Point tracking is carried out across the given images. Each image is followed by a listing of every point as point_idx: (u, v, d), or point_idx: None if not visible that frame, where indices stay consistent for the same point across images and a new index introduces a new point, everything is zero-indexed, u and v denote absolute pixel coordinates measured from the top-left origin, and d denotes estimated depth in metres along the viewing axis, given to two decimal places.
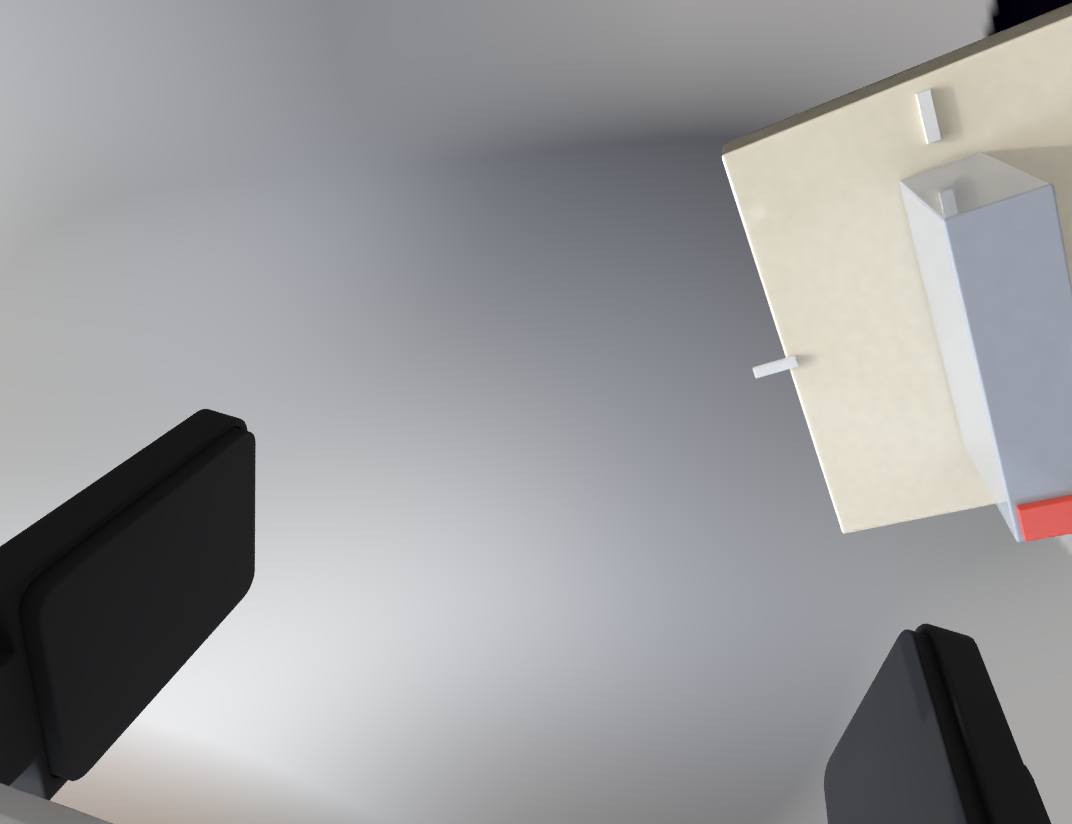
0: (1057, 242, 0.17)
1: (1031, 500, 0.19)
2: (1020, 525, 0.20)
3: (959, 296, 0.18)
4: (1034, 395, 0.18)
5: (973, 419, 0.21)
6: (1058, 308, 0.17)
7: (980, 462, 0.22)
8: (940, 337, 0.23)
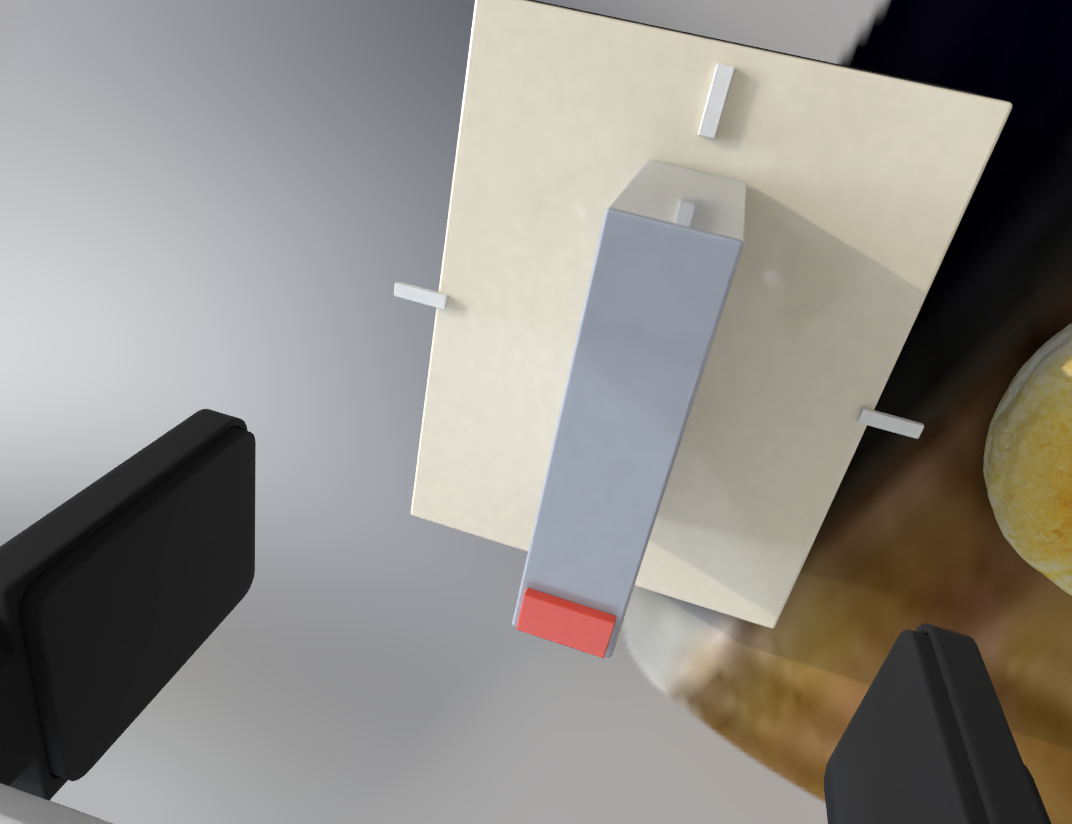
0: (711, 318, 0.12)
1: (543, 590, 0.15)
2: (521, 610, 0.16)
3: (581, 318, 0.13)
4: (601, 482, 0.14)
5: None
6: (673, 397, 0.13)
7: None
8: None
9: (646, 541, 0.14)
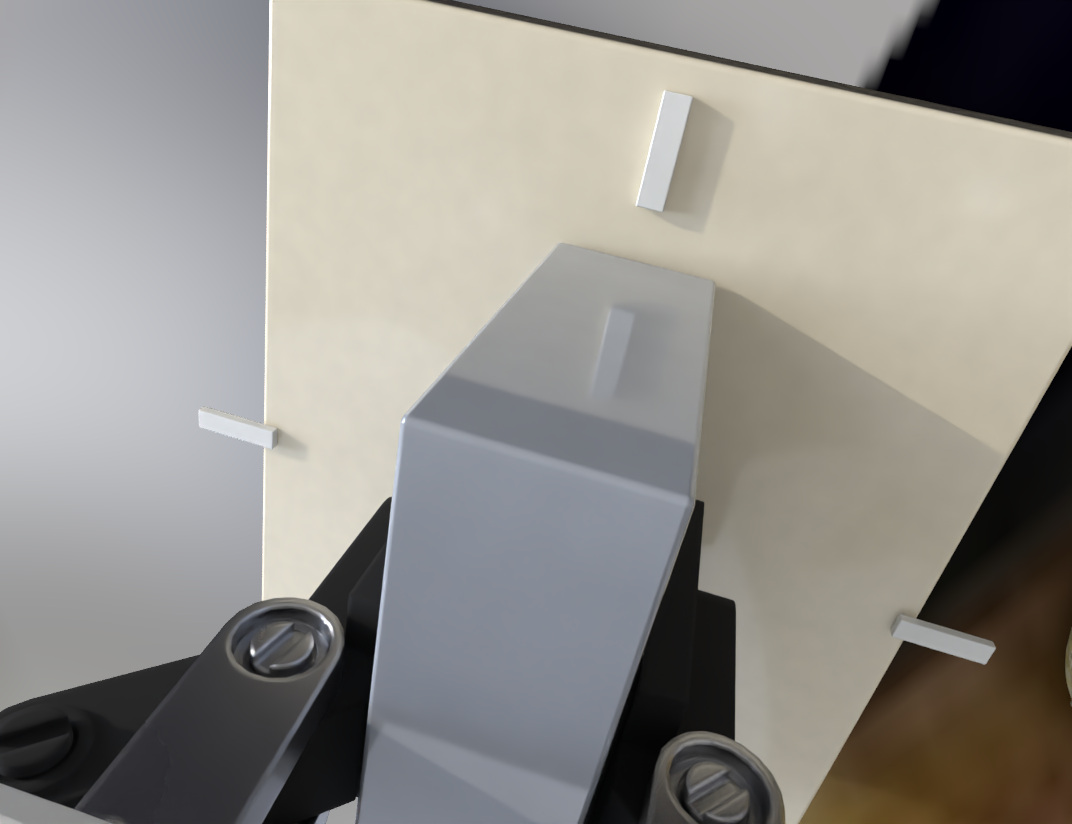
0: (631, 634, 0.06)
1: None
2: None
3: (381, 603, 0.06)
4: None
5: None
6: (565, 752, 0.07)
7: None
8: None
9: None
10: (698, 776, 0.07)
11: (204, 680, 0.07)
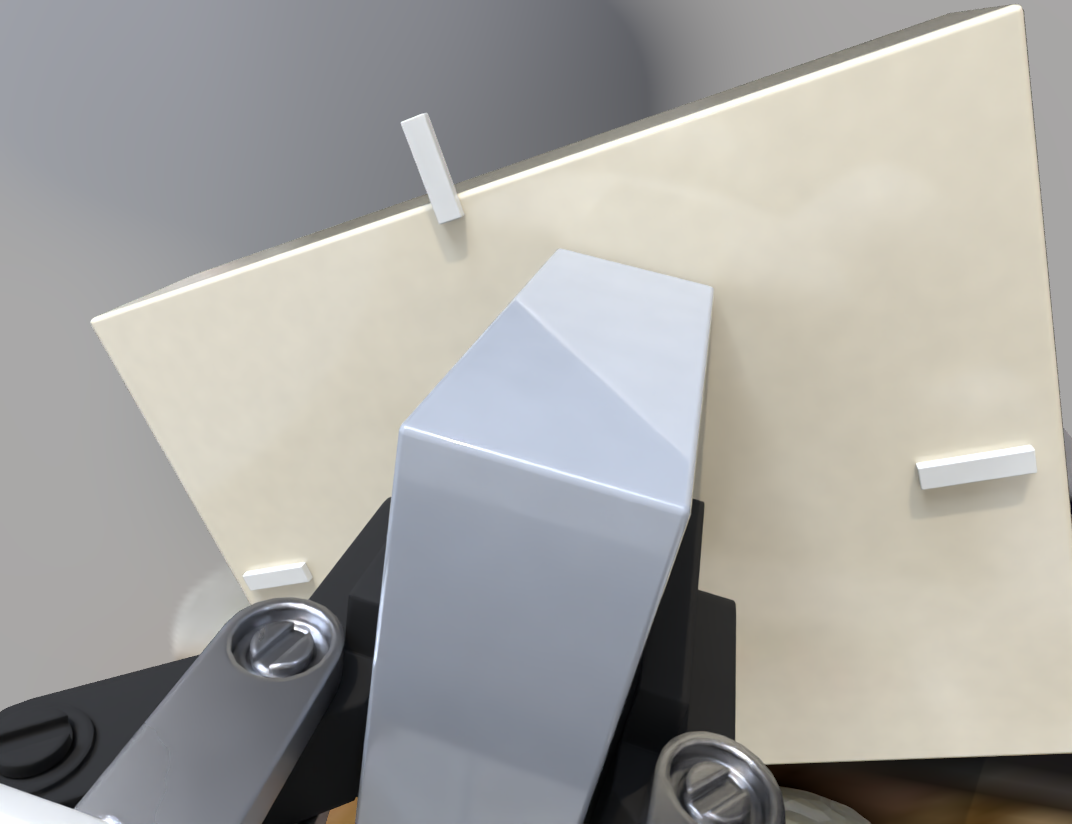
0: (628, 641, 0.06)
1: None
2: None
3: (380, 610, 0.06)
4: None
5: None
6: (563, 758, 0.07)
7: None
8: None
9: None
10: (698, 776, 0.07)
11: (204, 680, 0.07)
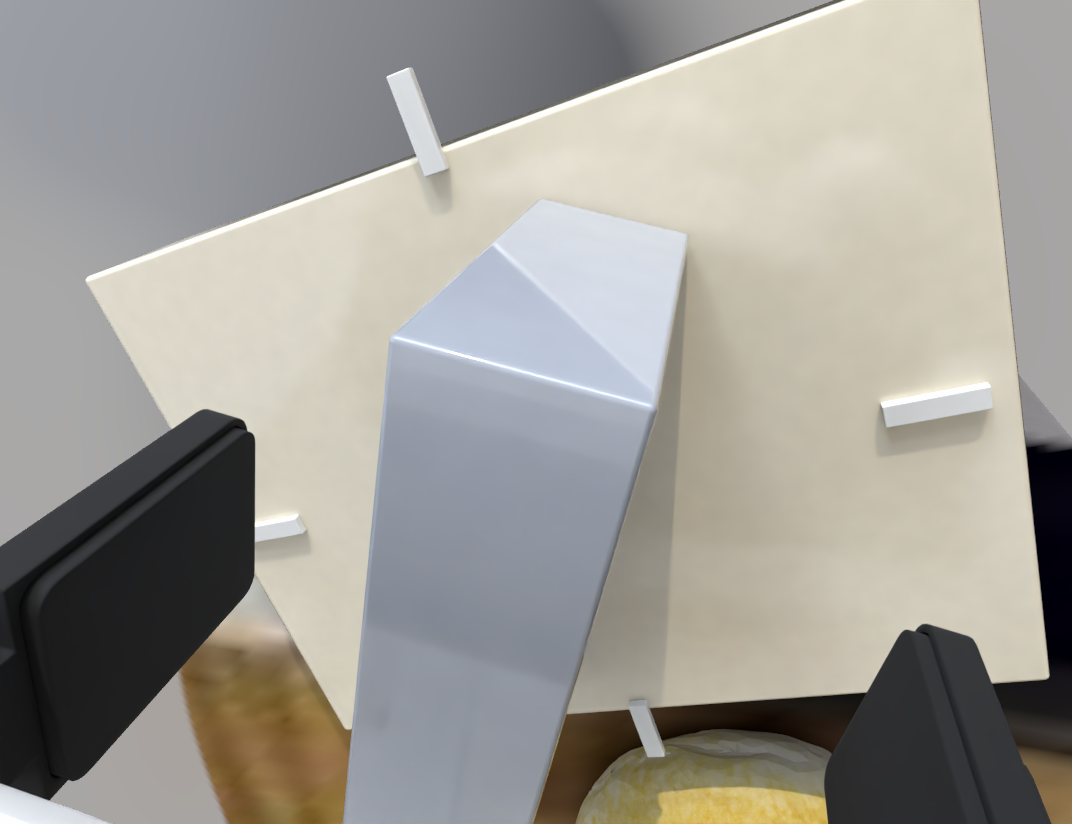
0: (602, 536, 0.06)
1: None
2: None
3: None
4: (440, 765, 0.08)
5: None
6: (545, 655, 0.07)
7: None
8: None
9: None
10: None
11: None
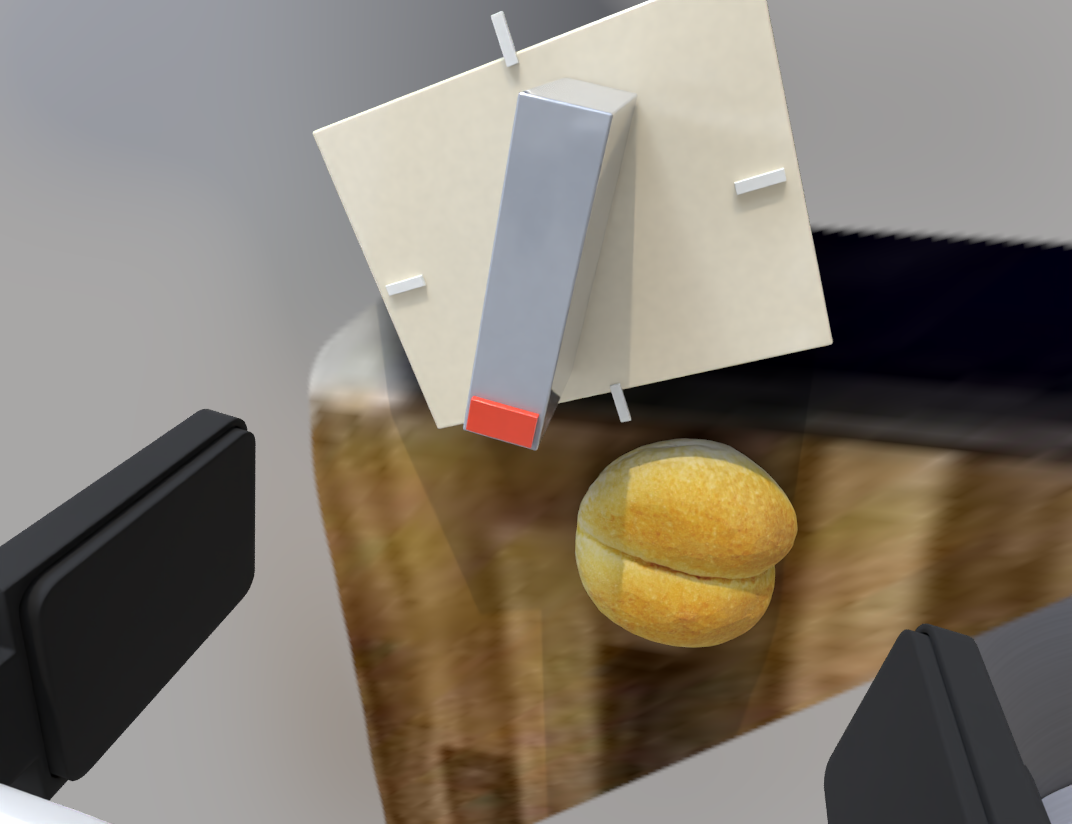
0: (593, 171, 0.17)
1: (485, 396, 0.20)
2: (469, 414, 0.21)
3: (504, 176, 0.18)
4: (524, 304, 0.19)
5: None
6: (571, 233, 0.18)
7: None
8: None
9: (558, 350, 0.20)
10: None
11: None
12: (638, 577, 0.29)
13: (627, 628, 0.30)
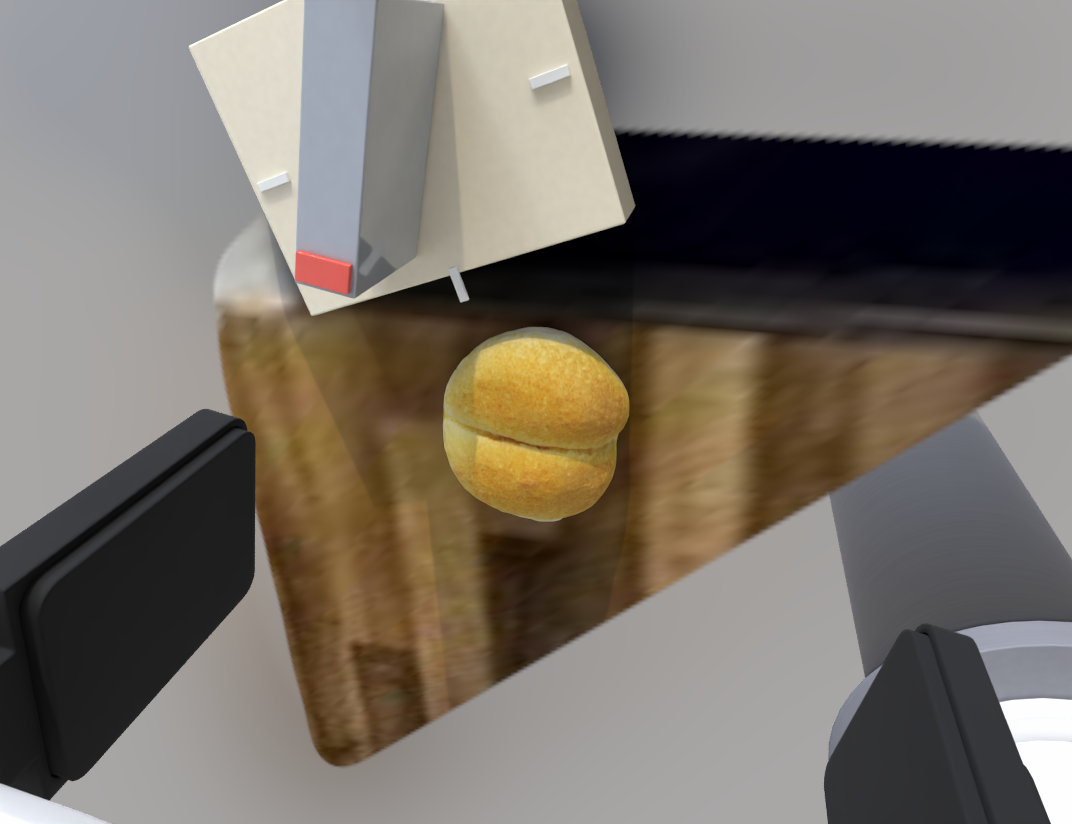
0: (368, 44, 0.21)
1: (307, 249, 0.25)
2: (297, 268, 0.25)
3: (303, 52, 0.22)
4: (329, 164, 0.23)
5: None
6: (358, 100, 0.22)
7: None
8: None
9: (360, 205, 0.24)
10: None
11: None
12: (488, 450, 0.33)
13: (483, 499, 0.34)
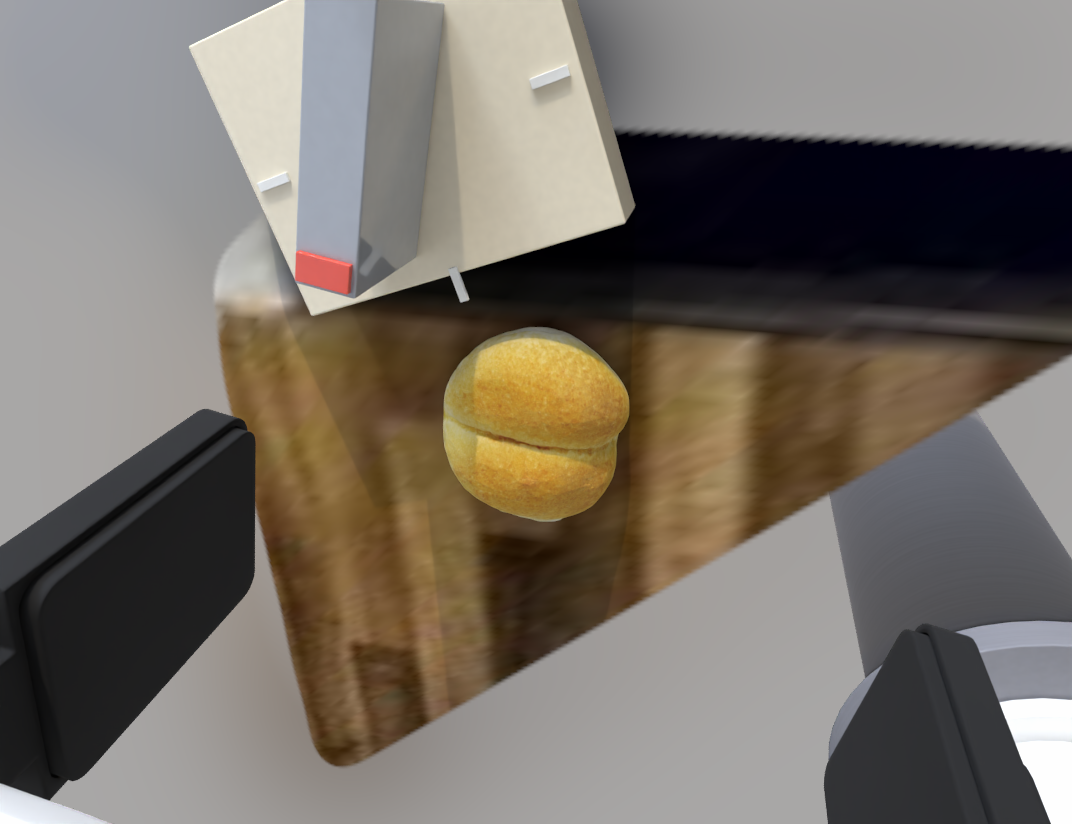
0: (369, 45, 0.21)
1: (308, 249, 0.25)
2: (297, 268, 0.25)
3: (303, 53, 0.22)
4: (329, 164, 0.23)
5: None
6: (358, 100, 0.22)
7: None
8: None
9: (360, 205, 0.24)
10: None
11: None
12: (488, 450, 0.33)
13: (483, 499, 0.34)
